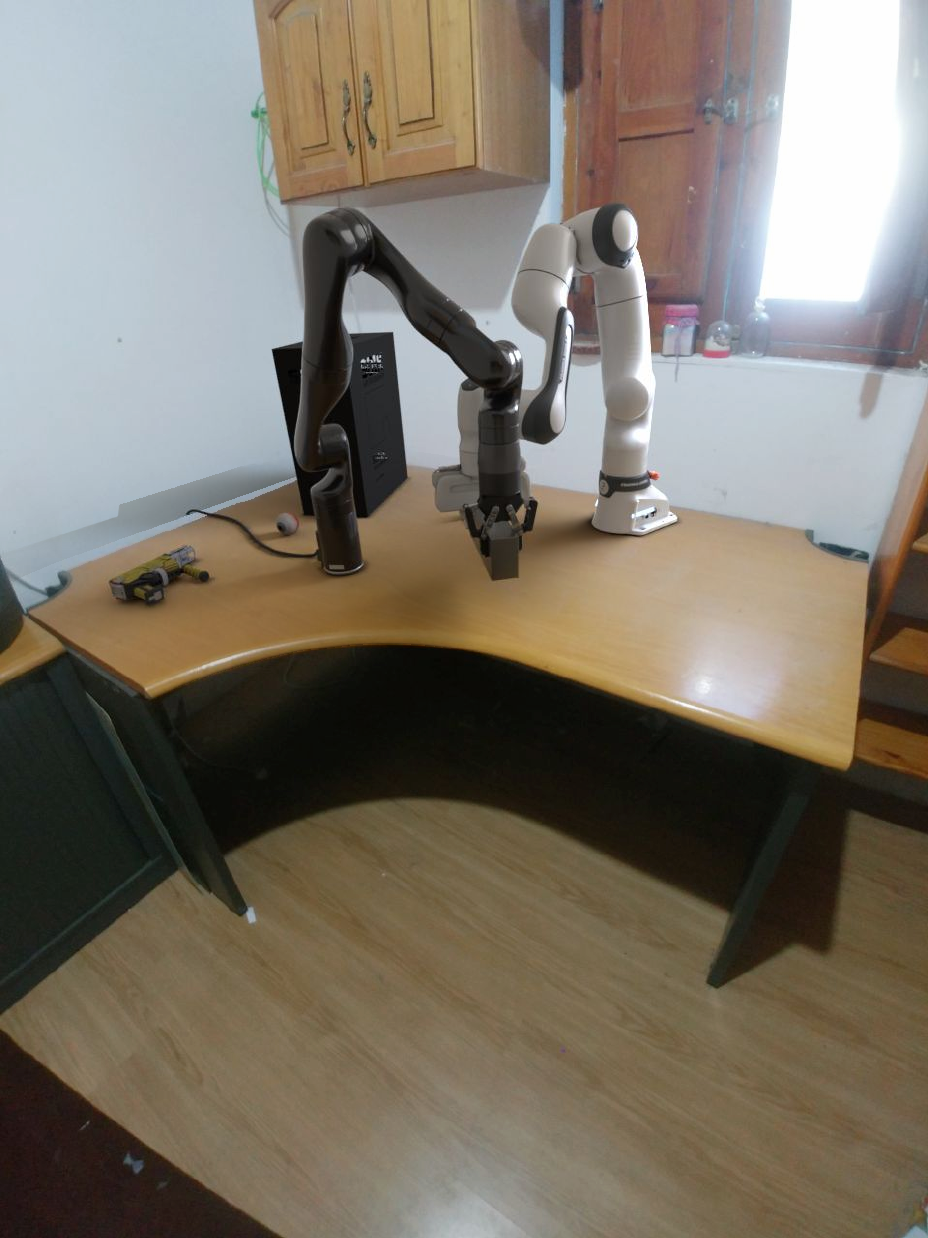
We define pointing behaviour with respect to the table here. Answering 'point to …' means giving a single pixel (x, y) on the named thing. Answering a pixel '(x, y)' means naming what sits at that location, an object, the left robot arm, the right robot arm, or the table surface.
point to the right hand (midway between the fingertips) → (484, 526)
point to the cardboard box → (355, 420)
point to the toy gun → (155, 576)
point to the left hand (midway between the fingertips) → (501, 553)
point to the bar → (499, 549)
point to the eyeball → (287, 523)
